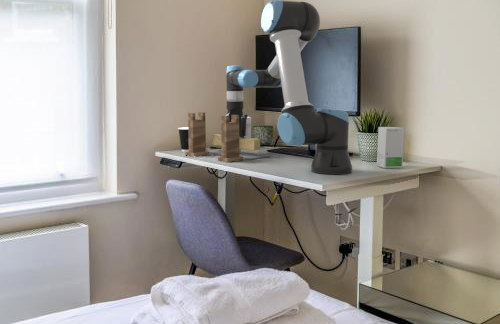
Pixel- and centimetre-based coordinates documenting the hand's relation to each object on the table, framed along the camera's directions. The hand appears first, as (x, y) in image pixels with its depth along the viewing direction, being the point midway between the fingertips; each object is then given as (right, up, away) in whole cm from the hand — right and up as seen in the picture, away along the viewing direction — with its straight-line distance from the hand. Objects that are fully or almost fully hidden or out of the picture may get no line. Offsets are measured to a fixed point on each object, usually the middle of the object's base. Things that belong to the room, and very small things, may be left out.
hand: (235, 152), depth 248 cm
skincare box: (+61, -6, -33) cm, 70 cm away
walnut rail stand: (-9, -2, -9) cm, 13 cm away
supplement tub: (+2, +4, +32) cm, 32 cm away
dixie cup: (-23, +1, +12) cm, 26 cm away
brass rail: (0, +3, 0) cm, 3 cm away
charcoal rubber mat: (0, -1, 0) cm, 1 cm away
